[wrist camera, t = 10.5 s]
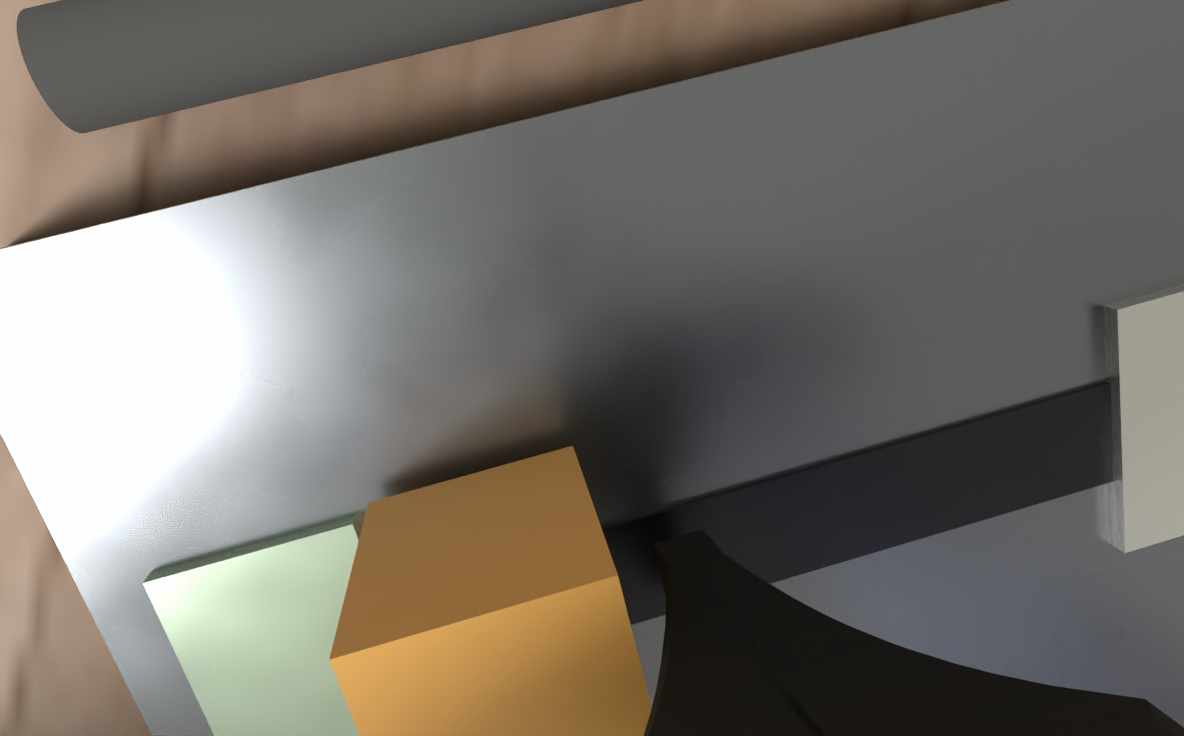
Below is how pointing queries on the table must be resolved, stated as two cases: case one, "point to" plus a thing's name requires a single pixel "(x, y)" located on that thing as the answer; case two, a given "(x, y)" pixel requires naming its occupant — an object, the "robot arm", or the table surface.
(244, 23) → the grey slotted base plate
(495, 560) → the lever
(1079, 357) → the grey flat slab
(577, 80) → the table surface
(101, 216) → the table surface
